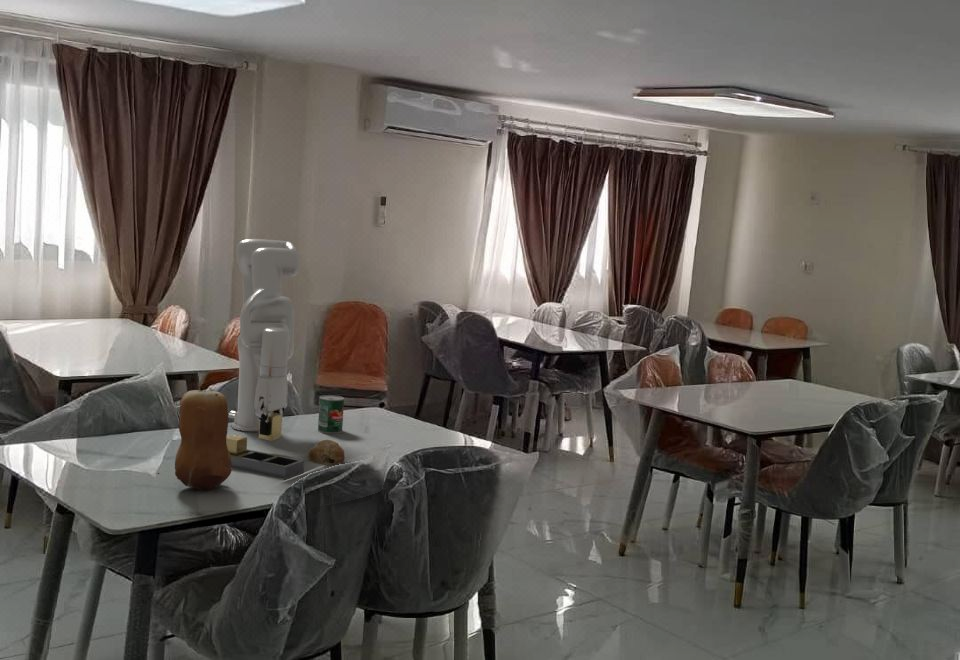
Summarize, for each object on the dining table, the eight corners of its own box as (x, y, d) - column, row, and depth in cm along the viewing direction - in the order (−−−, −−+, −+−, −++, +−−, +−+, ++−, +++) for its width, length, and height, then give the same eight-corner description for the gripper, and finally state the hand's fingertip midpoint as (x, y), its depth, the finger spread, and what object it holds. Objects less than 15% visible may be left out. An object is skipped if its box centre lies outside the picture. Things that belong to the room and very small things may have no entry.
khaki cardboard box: (222, 462, 269) (223, 437, 268) (232, 459, 273) (233, 434, 272) (235, 465, 267) (237, 440, 266) (246, 462, 271) (247, 437, 270)
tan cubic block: (258, 437, 281) (260, 414, 280) (268, 434, 286) (269, 411, 284) (271, 440, 280) (273, 417, 279) (280, 437, 284) (282, 414, 283)
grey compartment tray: (211, 464, 268) (212, 452, 267) (231, 458, 276) (231, 446, 275) (285, 480, 258) (285, 467, 258) (303, 473, 266) (304, 460, 266)
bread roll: (311, 477, 276) (316, 455, 272) (302, 453, 284) (307, 432, 280) (345, 475, 281) (350, 453, 277) (335, 452, 288) (340, 430, 284)
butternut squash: (209, 477, 256) (213, 383, 252) (241, 490, 247) (245, 392, 244) (162, 486, 245) (165, 388, 242) (193, 499, 236) (197, 398, 233)
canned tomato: (321, 427, 321) (323, 394, 320) (345, 429, 320) (347, 396, 319) (314, 432, 314) (316, 398, 312) (338, 434, 313) (340, 401, 311)
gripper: (280, 364, 289) (276, 424, 292) (244, 373, 273) (241, 436, 276) (301, 368, 286) (297, 429, 289) (266, 378, 270) (263, 441, 273)
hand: (270, 432), depth 282 cm, fingers closed on tan cubic block, 4 cm apart
